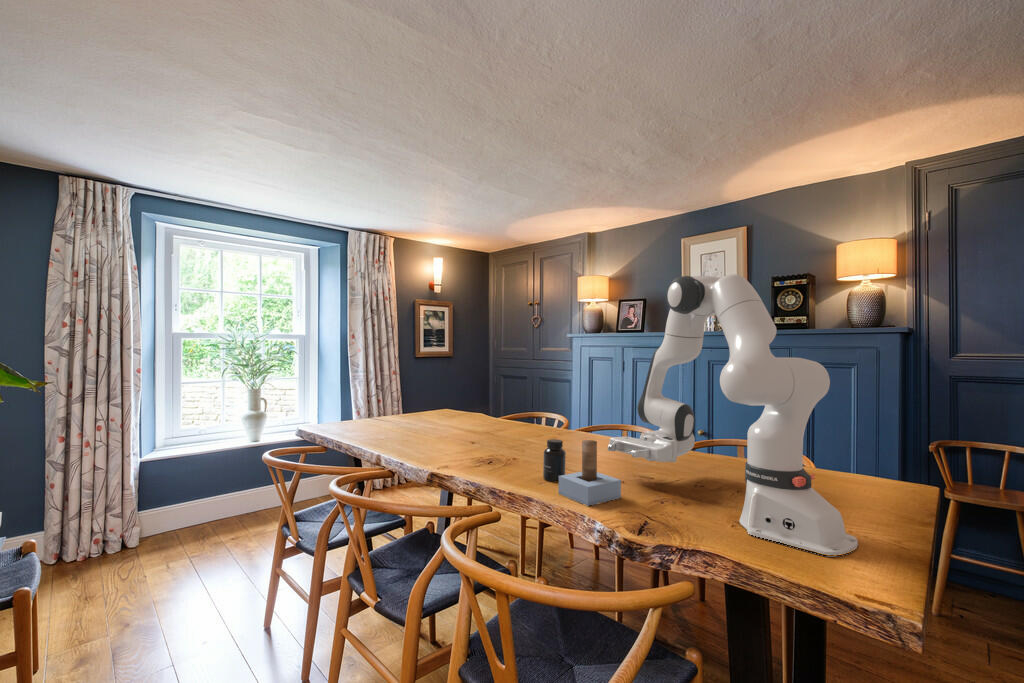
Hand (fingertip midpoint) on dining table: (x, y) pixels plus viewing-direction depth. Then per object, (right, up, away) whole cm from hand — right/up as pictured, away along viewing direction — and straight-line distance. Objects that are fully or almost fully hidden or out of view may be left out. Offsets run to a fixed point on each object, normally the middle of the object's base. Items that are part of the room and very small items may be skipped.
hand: (621, 451), depth 133 cm
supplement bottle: (-19, -11, +9) cm, 24 cm away
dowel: (-10, -10, -7) cm, 16 cm away
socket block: (-10, -11, -7) cm, 16 cm away
